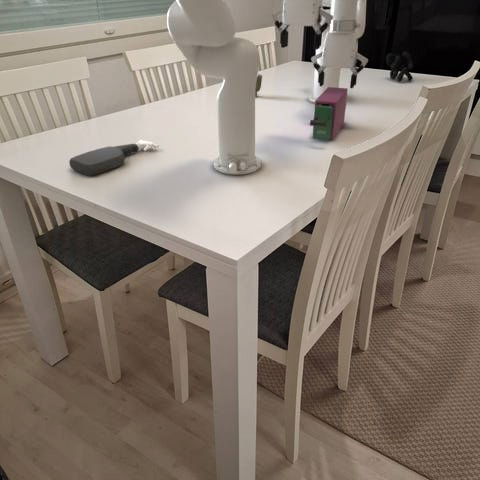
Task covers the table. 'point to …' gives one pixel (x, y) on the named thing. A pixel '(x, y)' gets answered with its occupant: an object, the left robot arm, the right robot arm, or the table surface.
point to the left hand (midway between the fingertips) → (300, 48)
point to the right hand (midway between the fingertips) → (336, 86)
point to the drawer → (322, 121)
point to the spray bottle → (106, 157)
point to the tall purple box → (339, 101)
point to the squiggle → (399, 66)
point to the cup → (258, 83)
